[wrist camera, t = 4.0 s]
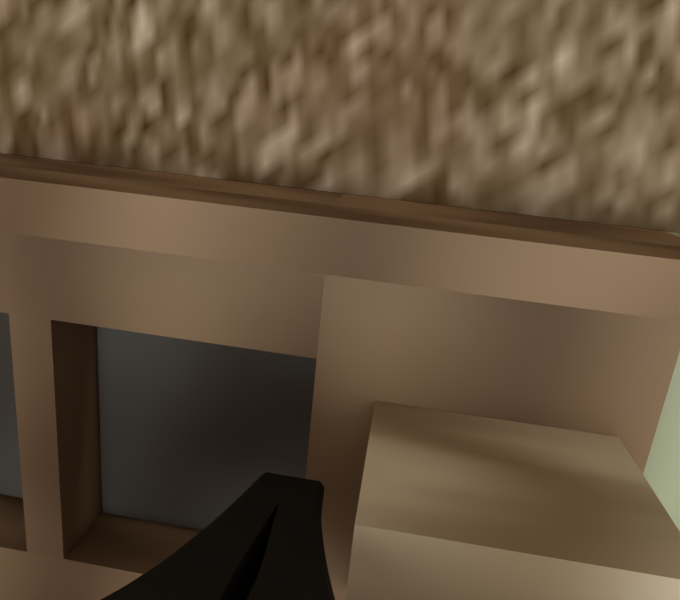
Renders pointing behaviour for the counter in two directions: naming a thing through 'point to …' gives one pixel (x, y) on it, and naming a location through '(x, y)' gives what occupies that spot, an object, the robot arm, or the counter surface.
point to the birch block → (505, 514)
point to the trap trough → (288, 351)
